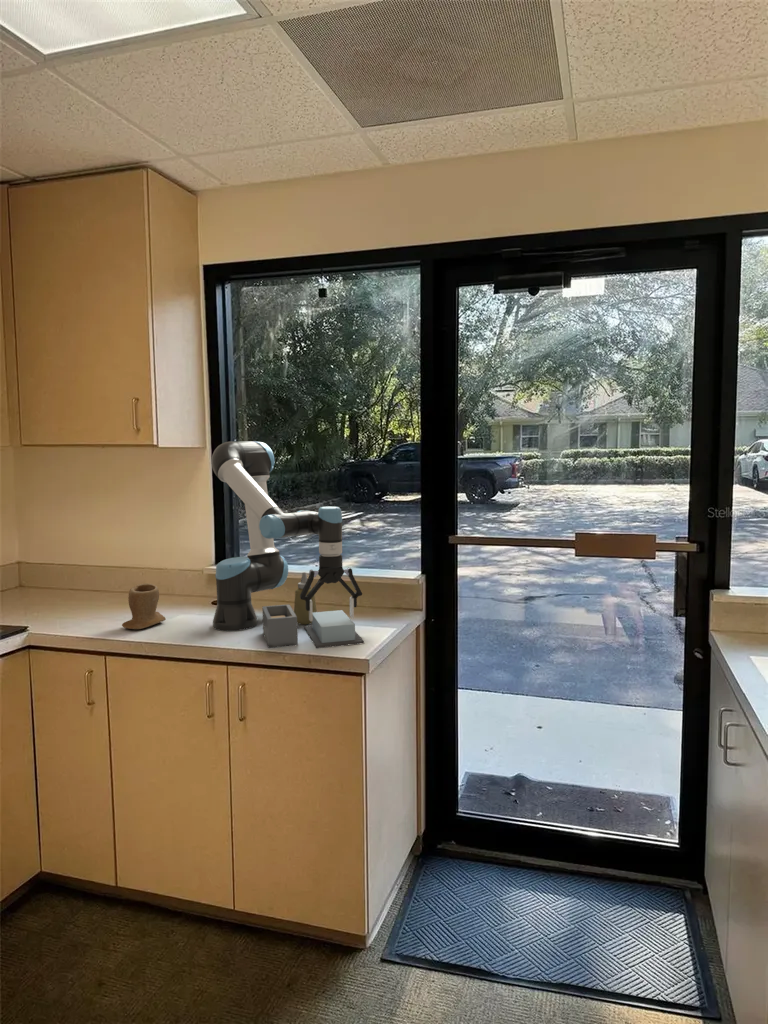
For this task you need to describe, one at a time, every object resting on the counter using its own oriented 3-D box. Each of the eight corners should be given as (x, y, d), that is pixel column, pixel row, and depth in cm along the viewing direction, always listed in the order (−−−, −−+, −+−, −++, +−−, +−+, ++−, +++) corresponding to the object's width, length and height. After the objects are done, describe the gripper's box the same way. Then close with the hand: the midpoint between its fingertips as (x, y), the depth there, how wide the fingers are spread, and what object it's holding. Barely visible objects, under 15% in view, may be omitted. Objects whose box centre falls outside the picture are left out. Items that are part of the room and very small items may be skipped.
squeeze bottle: (297, 627, 223) (296, 575, 222) (291, 621, 231) (289, 571, 229) (320, 624, 227) (318, 573, 225) (313, 619, 234) (311, 569, 232)
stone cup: (142, 633, 219) (140, 589, 218) (117, 629, 225) (114, 587, 223) (175, 622, 233) (173, 581, 231) (150, 619, 238) (148, 579, 237)
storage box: (263, 632, 217) (262, 606, 216) (290, 630, 219) (289, 604, 219) (268, 648, 200) (267, 619, 199) (297, 645, 202) (296, 616, 201)
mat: (304, 628, 222) (304, 626, 222) (347, 624, 226) (347, 622, 226) (316, 648, 199) (316, 645, 199) (364, 643, 203) (363, 641, 203)
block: (311, 627, 220) (311, 612, 220) (342, 624, 223) (342, 610, 222) (321, 642, 201) (321, 627, 201) (355, 639, 204) (354, 624, 204)
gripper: (293, 558, 203) (294, 624, 205) (370, 554, 210) (371, 618, 212) (290, 554, 210) (291, 618, 212) (365, 550, 217) (365, 612, 219)
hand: (331, 618), depth 212 cm, fingers open, 13 cm apart
